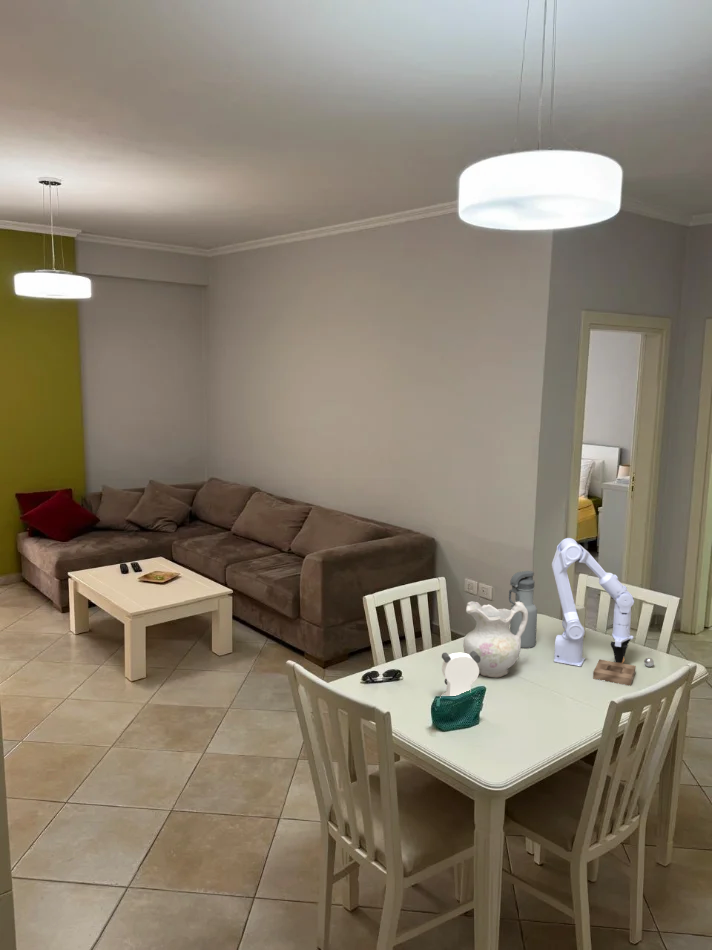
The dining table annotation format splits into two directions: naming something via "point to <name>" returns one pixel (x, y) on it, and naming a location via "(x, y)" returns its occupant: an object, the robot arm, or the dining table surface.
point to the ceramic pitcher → (494, 637)
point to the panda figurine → (460, 671)
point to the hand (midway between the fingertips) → (619, 659)
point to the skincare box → (581, 615)
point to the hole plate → (614, 672)
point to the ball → (649, 662)
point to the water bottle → (525, 594)
